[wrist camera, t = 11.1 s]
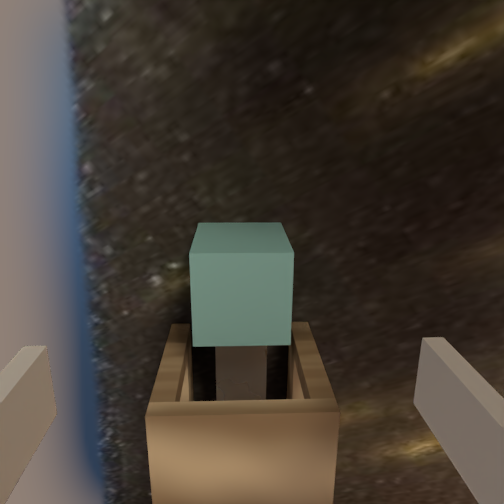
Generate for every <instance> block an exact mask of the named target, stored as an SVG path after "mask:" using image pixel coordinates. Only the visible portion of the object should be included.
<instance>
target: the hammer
mask: <svg viewBox="0 0 504 504" xmlns="http://www.w3.org/2000/svg"><path fill="white" fill-rule="evenodd" d="M215 356H216V400H217V401H235V400H266V374H267V345H265V346H215Z"/></svg>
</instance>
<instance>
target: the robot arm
mask: <svg viewBox="0 0 504 504" xmlns="http://www.w3.org/2000/svg"><path fill="white" fill-rule="evenodd" d="M413 403H414V405H415V407H416V408H417V410H418V411H419V413H420V414H421V416H422V417H423V419H424V420H425V422H426V423H427V425H428V427H429V428H430V430H431V431H432V433H433V434H434V436H435V437H436V439H437V440H438V442H439V443H440V445H441V446H442V448H443V450H444V451H445V453H446V454H447V456H448V457H449V459H450V460H451V462H452V463H453V465H454V466H455V468H456V470H457V471H458V473H459V474H460V476H461V477H462V479H463V480H464V482H465V483H466V485H467V486H468V488H469V490H470V491H471V493H472V494H473V496H474V497H475V499H476V500H477V502H478V503H479V504H504V398H503V397H502V396H501V395H500V394H499V393H498V392H497V391H496V390H495V389H494V388H493V387H492V386H491V385H490V384H489V383H488V382H487V381H486V380H485V379H484V378H483V377H482V376H481V375H480V374H479V373H478V372H477V371H476V370H475V369H474V368H473V367H472V366H471V365H470V364H469V363H468V362H467V361H466V360H465V359H464V358H463V357H462V356H461V355H460V354H459V353H458V352H457V351H456V350H455V349H454V348H453V347H452V346H451V345H450V344H449V343H448V342H447V340H446V339H445V338H444V337H427V338H422V344H421V351H420V358H419V365H418V372H417V380H416V387H415V394H414V401H413ZM56 415H57V410H56V403H55V397H54V390H53V384H52V377H51V371H50V365H49V358H48V351H47V346H24V347H22V349H21V350H20V351H19V352H18V353H17V354H16V355H15V356H14V357H13V359H12V360H11V361H10V362H9V363H8V364H7V365H6V367H5V368H4V369H3V370H2V371H1V372H0V504H5V503H6V501H7V499H8V498H9V496H10V494H11V493H12V491H13V489H14V487H15V486H16V484H17V482H18V480H19V479H20V477H21V475H22V474H23V472H24V470H25V468H26V467H27V465H28V463H29V461H30V460H31V458H32V456H33V454H34V453H35V451H36V449H37V447H38V446H39V444H40V442H41V441H42V439H43V437H44V436H45V434H46V432H47V430H48V428H49V427H50V425H51V423H52V422H53V420H54V418H55V417H56Z"/></svg>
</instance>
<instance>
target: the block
mask: <svg viewBox="0 0 504 504" xmlns="http://www.w3.org/2000/svg"><path fill="white" fill-rule="evenodd" d="M189 263H190V287H191V311H192V336H193V347H205V346H265V345H291V321H292V295H293V269H294V251H293V249H292V247H291V244H290V242H289V240H288V238H287V235H286V233H285V231H284V228H283V226H282V224H281V222H273V223H198V227H197V230H196V233H195V236H194V239H193V243H192V246H191V249H190V252H189Z"/></svg>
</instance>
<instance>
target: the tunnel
mask: <svg viewBox="0 0 504 504" xmlns="http://www.w3.org/2000/svg"><path fill="white" fill-rule="evenodd" d="M145 422H146V434H147V446H148V458H149V470H150V481H151V493H152V504H333V494H334V482H335V470H336V458H337V446H338V434H339V422H340V410H339V407H338V404H337V401H336V399H335V396H334V393H333V390H332V388H331V385H330V382H329V379H328V376H327V374H326V371H325V368H324V365H323V363H322V360H321V357H320V354H319V352H318V349H317V346H316V343H315V341H314V338H313V335H312V332H311V329H310V327H309V324H308V322H291V345H289V351H288V378H287V399H280V400H235V401H194V396H193V372H192V349H191V325H190V323H179V324H172V325H171V328H170V332H169V335H168V339H167V342H166V346H165V349H164V353H163V356H162V360H161V363H160V367H159V370H158V373H157V377H156V380H155V384H154V387H153V391H152V394H151V398H150V401H149V405H148V408H147V412H146V415H145Z"/></svg>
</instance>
